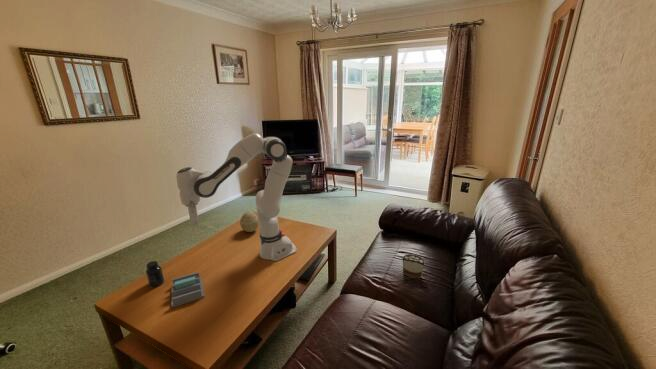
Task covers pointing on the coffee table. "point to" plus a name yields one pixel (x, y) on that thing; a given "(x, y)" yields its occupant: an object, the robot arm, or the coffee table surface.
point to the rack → (187, 291)
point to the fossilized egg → (249, 222)
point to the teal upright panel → (185, 283)
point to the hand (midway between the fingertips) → (195, 222)
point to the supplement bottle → (154, 274)
